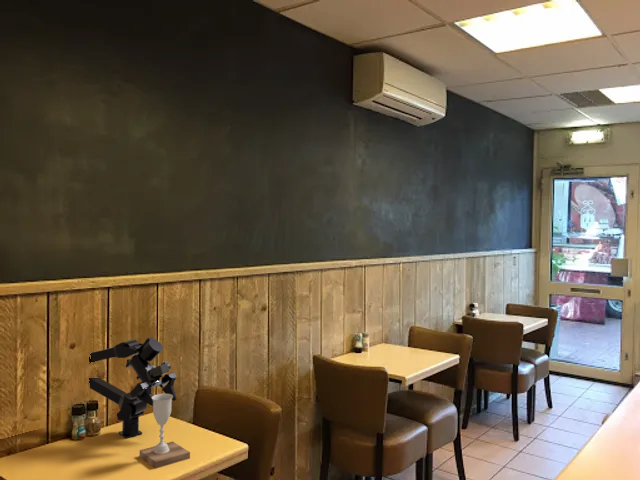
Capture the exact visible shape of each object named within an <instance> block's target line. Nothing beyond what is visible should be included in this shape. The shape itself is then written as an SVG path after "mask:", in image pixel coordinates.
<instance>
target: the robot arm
mask: <svg viewBox="0 0 640 480" xmlns="http://www.w3.org/2000/svg"><path fill="white" fill-rule="evenodd" d="M163 350H164V347H163V344H162V343H161V342H160V341H158V340H156V339H153V337H152V336H150V337H147V338H146V339H145V341H144V342H143V343H141V342H139V341H137V339H134V338H133V339H130V340H126V341H121V342H120V343H118V344H115V345H114V346H112V347H109V348H104V349H100V350H97V351H95V352H93V351H91V352H92V353H91V354H90V355H91V359H90V357H89V362H90V363H91V362H95V361H97V362H99V361H104V360H107V359H111V358H117V359H125V358H129V357H130V358H129V359H126V363H125V368H131V367H132V369H133V370H134V372H135V373H136V377H135V378H136V380H138V381H139V380H140V381H141V382H137V383H136V385H134V387H133V388H132V389H131V390H130V391H129V392H126V391H123V390H122V389H121V388H118V387H117V386H115V385H113V384H111V383H109V382H108V381H106V380H104V379H102V378H101V377H99V378H89V380H90V381H89V383H90V388H89V389H91V390H92V391H94V392H95V393H98V394H99V395H101V396H103V397H104V398H106V399H108V400H110V401H111V402H113V403H115V404H117V406H118V407H119V411H118V412H117V413H116V418H117V420H119V421H122V429H121V430H119V431H118V434H119V435H121V436H122V437H123V438H125V439H126V438H132V437H134V436H139V435H143V432H142V431H141V430H140V425H139V423H140V421H139V420H140V416H143V415H144V413H145V410H146V409H147V408H148V407H147V406H148V405H149V406H151V407H153V400H152V397H153V396H154V395H153V394H152V389H153V388H156V387H160V388H161V390H162V392H164V394H171V395H173V398H172V402H176V401H177V395H176V392H175V391H176V390H175V385H174V384H175V382H176V379H177V378H178V376H177V375H176V373H175V372H172V371H170V370H171V369H172V365H171V364H170V363H169V361H168V360H165V361H163V362H161V364H160V365H157V366H156V365H155V364H153V365H152V364H151V363H150V362H152V361H154V360H155V358H157V356H158V355H160V353H161V352H162V351H163ZM90 363H89V364H90ZM165 373H166V374H165ZM163 374H164V375H163Z"/></svg>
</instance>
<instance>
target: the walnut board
mask: <svg viewBox="0 0 640 480" xmlns="http://www.w3.org/2000/svg"><path fill="white" fill-rule="evenodd" d="M166 443H167V446H168V448H169V452H167V453H163V454H157V453H154V450H155V447H156V445H155V446H151V447H146V448H143V449H140V450H139V457H140V458H141V459H142V460H144V461H145V462H147V463H148V464H149V465H151V467H154V468H155V469H158V468H162V467H164V466H165V467H166V466H168V465H172V464H175V463H178V462H181V461H185V460H188V459H191V452H190V451H189V450H187V449H186V448H184V447H182V446H181V445H179V444H177V443H176V442H175V441H169V442H166Z"/></svg>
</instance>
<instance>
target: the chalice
mask: <svg viewBox="0 0 640 480" xmlns="http://www.w3.org/2000/svg"><path fill="white" fill-rule="evenodd" d="M172 398H173V395H171V394H166V393H158V394H155V395H153V397H152V400H153V406H152V414H153V416H154V419H155V422H156V424H157V425H159V426H160V429H159V432H160V434H159V438H160V440H159V442H158V443H157V444H156V445H155V446H156V447H155V450H154V453H157V454H163V453H167V452H169V448H168V446H167V443H168V442H165V441H164V437H165V435H164V432H165V429H164V426H165V425H166V424H167V422H168V421H169V418H170V416H171V413H172V402H173V400H172Z"/></svg>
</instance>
